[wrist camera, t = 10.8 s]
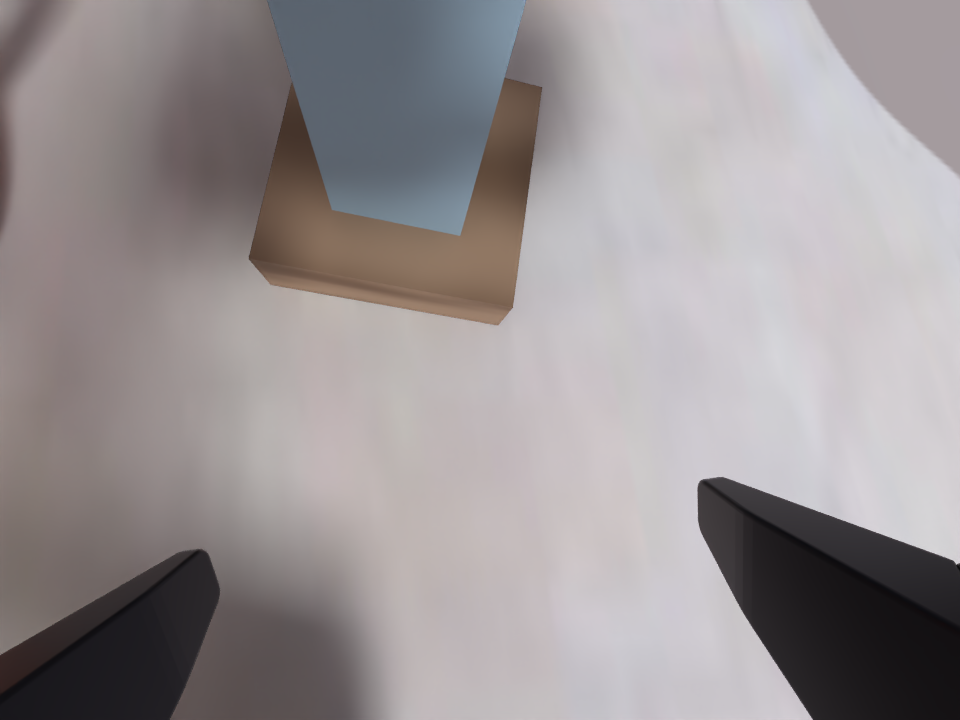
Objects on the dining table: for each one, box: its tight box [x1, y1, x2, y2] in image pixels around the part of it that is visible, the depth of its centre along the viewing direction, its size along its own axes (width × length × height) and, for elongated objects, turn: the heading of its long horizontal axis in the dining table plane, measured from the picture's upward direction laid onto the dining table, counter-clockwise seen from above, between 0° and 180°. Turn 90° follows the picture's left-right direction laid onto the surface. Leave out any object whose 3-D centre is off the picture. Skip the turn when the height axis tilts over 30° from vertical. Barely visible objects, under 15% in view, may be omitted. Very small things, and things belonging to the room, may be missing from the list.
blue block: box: [267, 0, 526, 236], centre depth 13 cm, size 5×5×13 cm
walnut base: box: [249, 78, 542, 325], centre depth 21 cm, size 10×10×3 cm
